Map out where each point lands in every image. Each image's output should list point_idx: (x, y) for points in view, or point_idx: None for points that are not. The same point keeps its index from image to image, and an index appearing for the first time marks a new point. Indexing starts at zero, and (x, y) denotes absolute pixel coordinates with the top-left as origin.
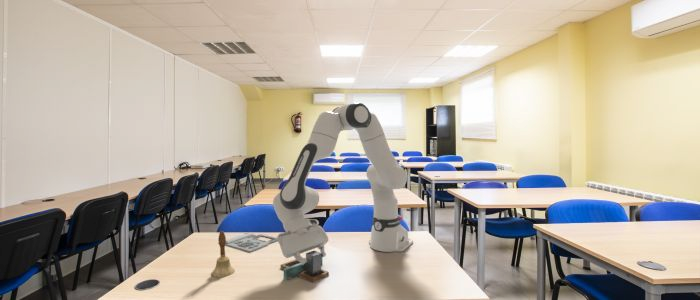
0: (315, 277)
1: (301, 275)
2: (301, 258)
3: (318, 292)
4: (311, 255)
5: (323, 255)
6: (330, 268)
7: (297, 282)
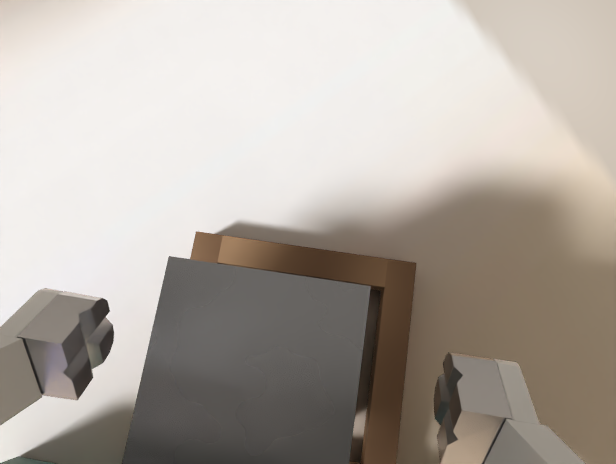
0: (371, 263)
1: (395, 446)
2: (553, 432)
3: (513, 115)
4: (363, 333)
5: (97, 298)
6: None
7: None
